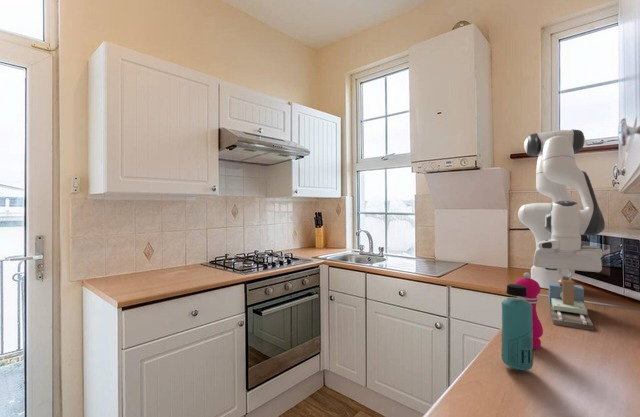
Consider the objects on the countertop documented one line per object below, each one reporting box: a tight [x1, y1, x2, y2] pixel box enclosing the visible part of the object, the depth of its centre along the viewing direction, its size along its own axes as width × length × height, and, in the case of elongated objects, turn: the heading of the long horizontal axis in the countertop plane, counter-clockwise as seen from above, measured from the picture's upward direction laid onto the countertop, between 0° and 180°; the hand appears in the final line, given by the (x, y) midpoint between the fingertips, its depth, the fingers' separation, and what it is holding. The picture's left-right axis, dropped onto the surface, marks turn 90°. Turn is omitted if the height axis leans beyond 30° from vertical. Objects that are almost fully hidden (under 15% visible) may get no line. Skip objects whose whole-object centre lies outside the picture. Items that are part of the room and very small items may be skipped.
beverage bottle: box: [500, 283, 535, 371], centre depth 75 cm, size 6×7×20 cm
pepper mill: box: [514, 272, 544, 350], centre depth 88 cm, size 7×7×20 cm
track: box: [549, 303, 595, 331], centre depth 108 cm, size 20×10×2 cm, turn 147°
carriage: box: [551, 279, 588, 314], centre depth 111 cm, size 10×9×10 cm
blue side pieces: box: [548, 282, 585, 306], centre depth 119 cm, size 6×10×8 cm, turn 57°
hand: (565, 281), depth 119 cm, fingers closed, pressing on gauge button
